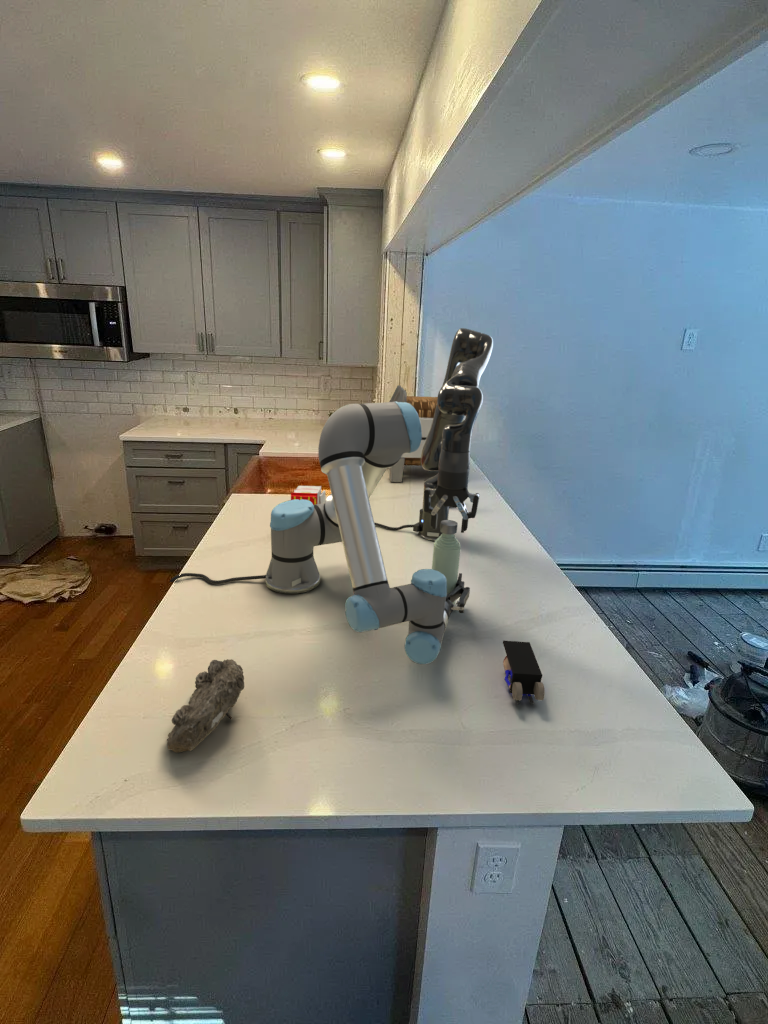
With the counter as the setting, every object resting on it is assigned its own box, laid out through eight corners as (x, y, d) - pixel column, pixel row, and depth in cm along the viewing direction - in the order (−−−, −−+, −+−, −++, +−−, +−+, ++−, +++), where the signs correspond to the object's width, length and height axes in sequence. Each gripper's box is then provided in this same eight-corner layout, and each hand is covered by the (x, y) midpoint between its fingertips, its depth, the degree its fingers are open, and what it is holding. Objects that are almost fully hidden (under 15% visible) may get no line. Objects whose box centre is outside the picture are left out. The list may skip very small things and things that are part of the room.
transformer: (382, 463, 289) (386, 382, 275) (445, 464, 293) (451, 384, 279) (390, 482, 257) (394, 392, 243) (460, 483, 261) (468, 394, 247)
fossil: (192, 660, 117) (244, 628, 112) (224, 691, 120) (276, 661, 115) (142, 746, 98) (202, 712, 93) (182, 779, 101) (242, 748, 96)
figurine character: (543, 716, 114) (525, 665, 128) (550, 687, 111) (531, 638, 124) (510, 715, 114) (496, 664, 127) (516, 687, 111) (500, 637, 124)
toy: (326, 481, 223) (320, 494, 193) (326, 514, 225) (320, 532, 196) (296, 480, 222) (285, 493, 193) (295, 513, 225) (285, 531, 196)
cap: (443, 527, 148) (444, 518, 147) (458, 530, 146) (459, 521, 146) (437, 532, 144) (438, 523, 144) (453, 535, 143) (454, 527, 142)
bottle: (441, 614, 148) (448, 531, 140) (423, 603, 153) (429, 523, 145) (459, 607, 152) (468, 526, 144) (442, 597, 157) (449, 518, 149)
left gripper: (391, 623, 137) (410, 582, 158) (473, 637, 133) (481, 593, 154) (392, 596, 135) (411, 558, 156) (476, 609, 131) (484, 568, 152)
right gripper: (484, 466, 141) (478, 528, 147) (428, 460, 145) (423, 521, 150) (481, 474, 135) (474, 539, 140) (422, 467, 138) (418, 531, 144)
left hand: (446, 575), depth 155 cm, fingers closed on bottle, 7 cm apart
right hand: (448, 529), depth 145 cm, fingers open, 6 cm apart
